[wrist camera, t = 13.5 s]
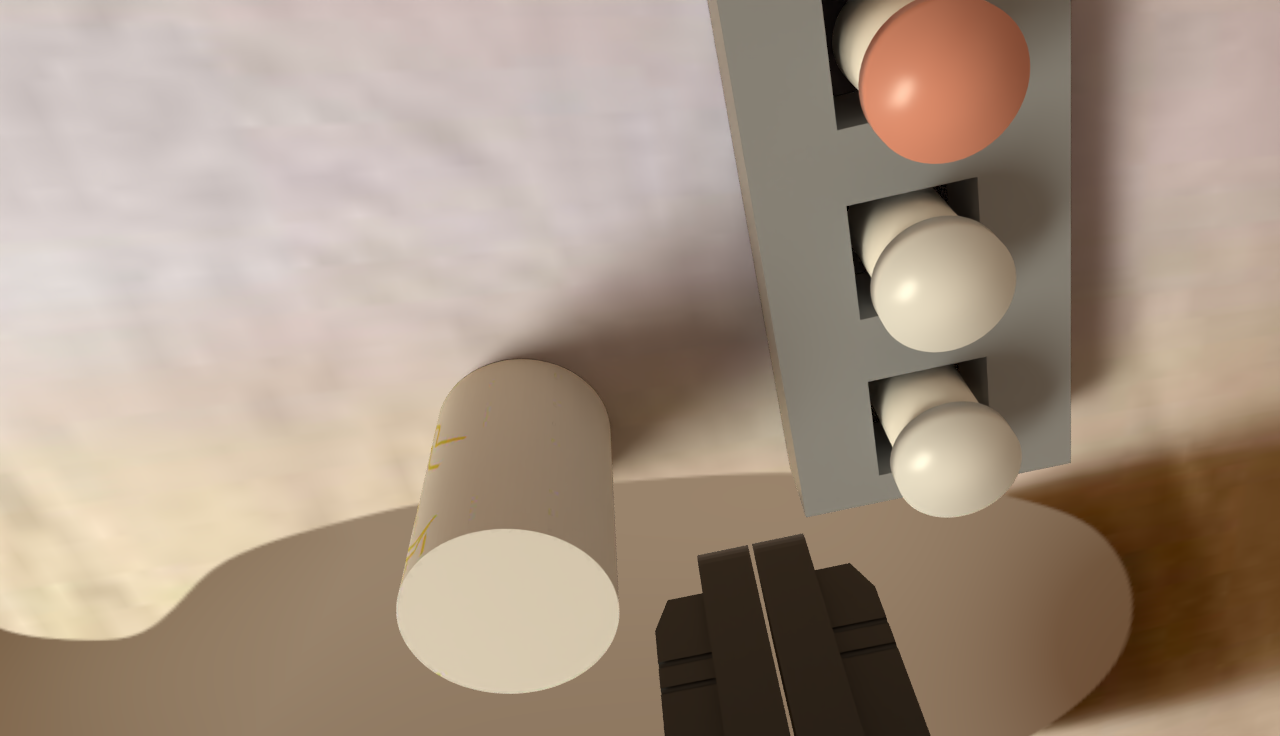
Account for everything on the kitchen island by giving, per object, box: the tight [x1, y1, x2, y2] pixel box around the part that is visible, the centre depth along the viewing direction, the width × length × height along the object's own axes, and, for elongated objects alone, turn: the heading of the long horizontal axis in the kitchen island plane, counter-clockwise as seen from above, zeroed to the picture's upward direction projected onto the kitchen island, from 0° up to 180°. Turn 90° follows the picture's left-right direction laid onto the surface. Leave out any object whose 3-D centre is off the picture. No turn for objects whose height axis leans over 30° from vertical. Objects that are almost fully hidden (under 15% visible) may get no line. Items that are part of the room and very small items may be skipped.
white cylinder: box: [396, 359, 619, 694], centre depth 42 cm, size 8×8×12 cm
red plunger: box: [832, 0, 1030, 164], centre depth 33 cm, size 5×5×7 cm
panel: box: [707, 0, 1071, 517], centre depth 41 cm, size 12×24×4 cm, turn 12°
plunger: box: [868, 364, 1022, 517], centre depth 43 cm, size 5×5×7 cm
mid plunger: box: [847, 187, 1016, 352], centre depth 39 cm, size 5×5×7 cm
